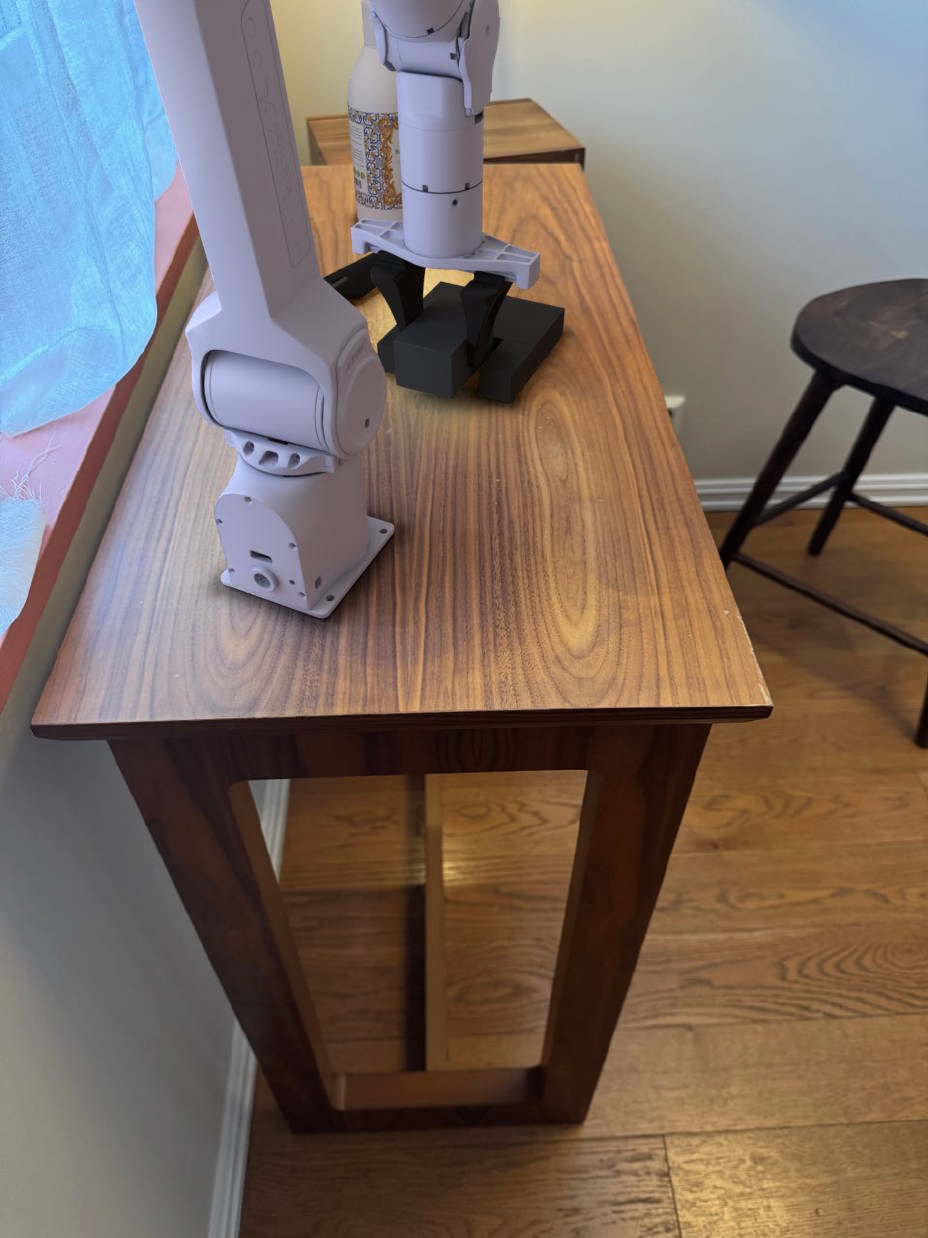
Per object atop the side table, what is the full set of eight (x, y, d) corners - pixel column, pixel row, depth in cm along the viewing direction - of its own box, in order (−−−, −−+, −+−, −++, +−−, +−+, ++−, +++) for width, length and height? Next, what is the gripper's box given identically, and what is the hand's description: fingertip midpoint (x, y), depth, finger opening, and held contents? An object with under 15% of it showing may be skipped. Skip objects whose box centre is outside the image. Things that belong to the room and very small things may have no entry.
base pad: (510, 403, 73) (511, 376, 71) (378, 370, 77) (376, 343, 75) (563, 334, 80) (565, 307, 79) (441, 306, 84) (440, 280, 82)
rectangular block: (439, 338, 77) (438, 294, 75) (493, 351, 76) (494, 306, 73) (395, 385, 72) (392, 339, 70) (452, 400, 71) (451, 354, 68)
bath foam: (387, 240, 93) (372, 12, 79) (344, 220, 97) (322, -3, 82) (436, 220, 97) (431, -2, 82) (393, 201, 100) (381, -16, 86)
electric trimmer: (410, 279, 88) (409, 247, 86) (296, 343, 79) (291, 309, 77) (381, 268, 90) (379, 236, 87) (266, 330, 81) (260, 296, 79)
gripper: (560, 173, 64) (547, 349, 74) (377, 142, 68) (389, 312, 78) (521, 212, 59) (514, 393, 69) (329, 176, 64) (347, 351, 73)
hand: (445, 353), depth 73 cm, fingers closed on rectangular block, 5 cm apart
